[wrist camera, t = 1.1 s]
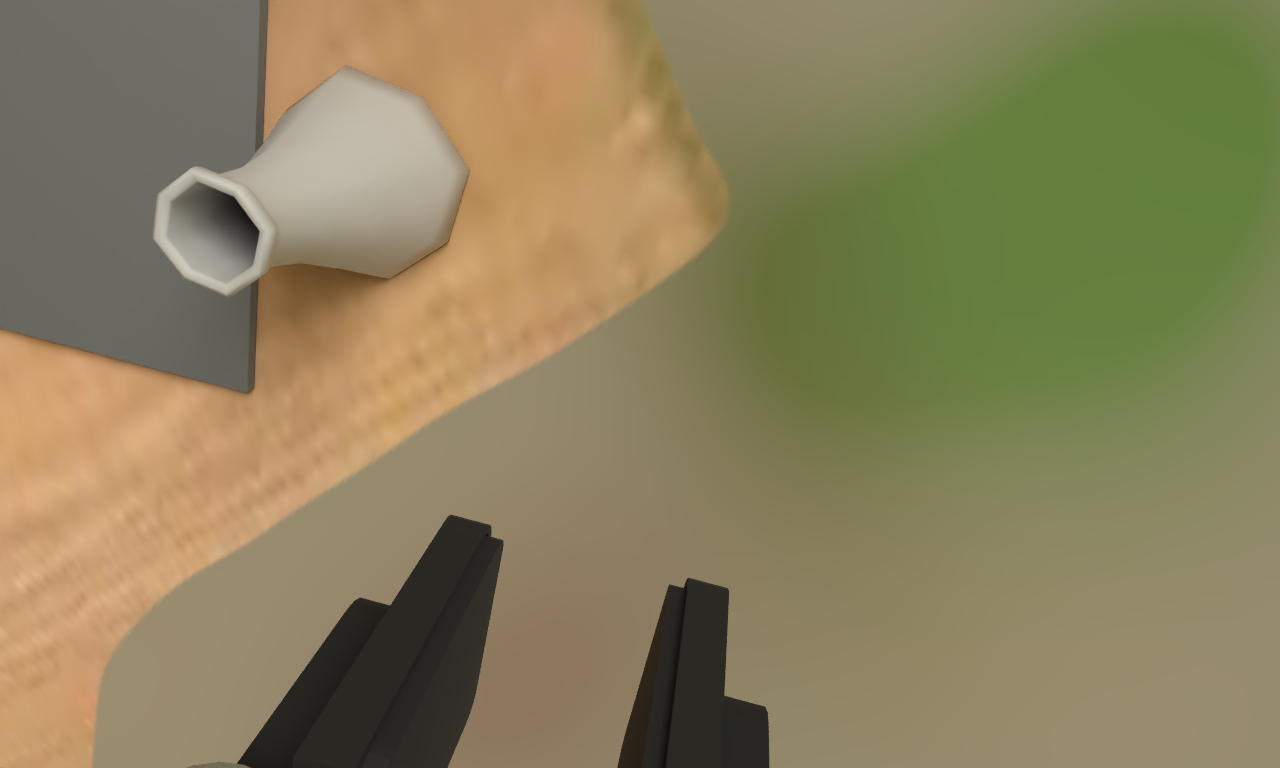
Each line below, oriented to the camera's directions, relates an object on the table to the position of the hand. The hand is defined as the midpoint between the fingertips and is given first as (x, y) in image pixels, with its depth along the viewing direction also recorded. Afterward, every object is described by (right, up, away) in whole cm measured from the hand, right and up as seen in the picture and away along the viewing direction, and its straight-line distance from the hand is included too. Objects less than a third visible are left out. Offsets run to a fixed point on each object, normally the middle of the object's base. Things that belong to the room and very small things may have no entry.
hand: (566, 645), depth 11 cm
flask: (-9, +11, +20) cm, 25 cm away
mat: (-20, +14, +20) cm, 31 cm away
